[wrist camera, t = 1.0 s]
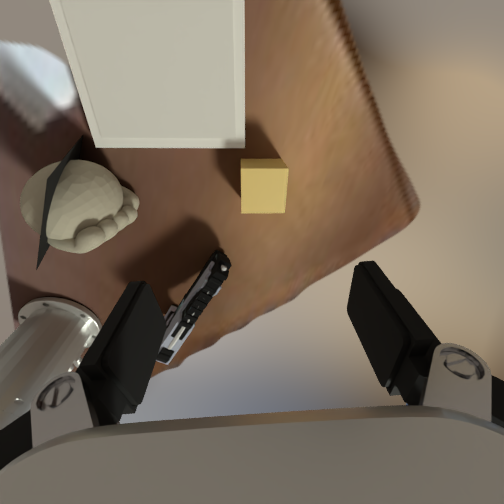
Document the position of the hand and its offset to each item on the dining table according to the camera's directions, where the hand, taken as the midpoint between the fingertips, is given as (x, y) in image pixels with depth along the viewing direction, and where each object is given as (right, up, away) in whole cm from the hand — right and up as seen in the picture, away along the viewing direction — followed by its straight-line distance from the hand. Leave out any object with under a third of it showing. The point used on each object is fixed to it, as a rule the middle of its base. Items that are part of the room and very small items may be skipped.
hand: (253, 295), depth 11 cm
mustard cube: (+1, +11, +19) cm, 22 cm away
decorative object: (-18, +10, +19) cm, 28 cm away
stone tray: (-9, +21, +12) cm, 26 cm away
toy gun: (-9, -3, +28) cm, 30 cm away
